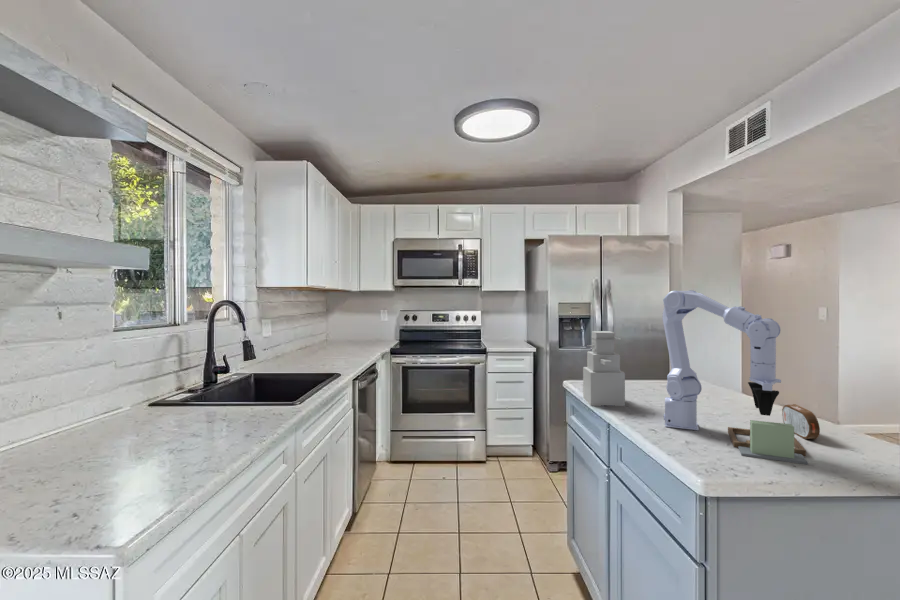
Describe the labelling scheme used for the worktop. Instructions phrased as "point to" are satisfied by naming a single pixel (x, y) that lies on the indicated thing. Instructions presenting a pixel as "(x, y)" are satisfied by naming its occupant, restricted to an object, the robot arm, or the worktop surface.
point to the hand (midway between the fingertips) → (762, 411)
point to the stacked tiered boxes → (603, 372)
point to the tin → (801, 421)
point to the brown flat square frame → (731, 431)
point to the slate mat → (797, 457)
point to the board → (772, 438)
